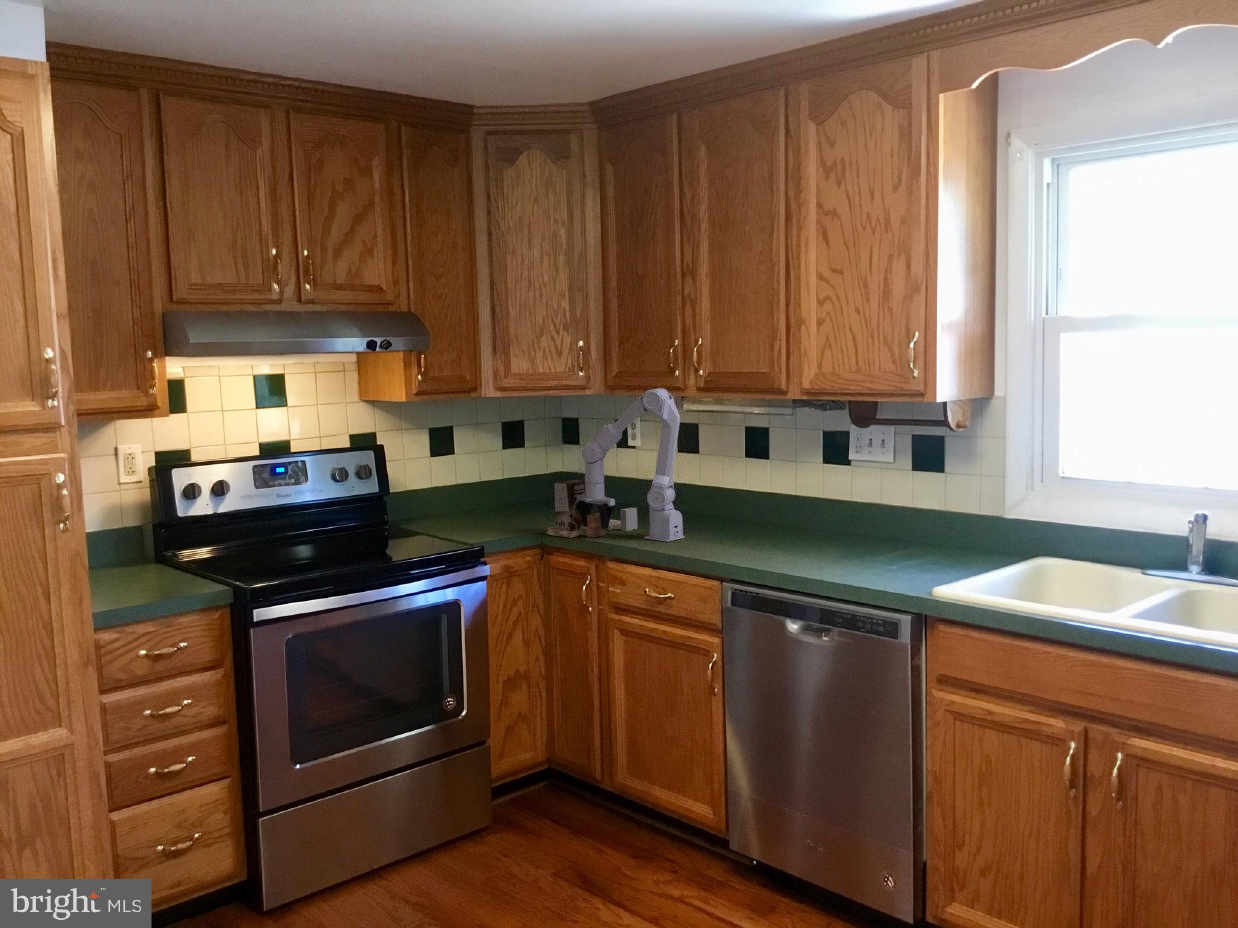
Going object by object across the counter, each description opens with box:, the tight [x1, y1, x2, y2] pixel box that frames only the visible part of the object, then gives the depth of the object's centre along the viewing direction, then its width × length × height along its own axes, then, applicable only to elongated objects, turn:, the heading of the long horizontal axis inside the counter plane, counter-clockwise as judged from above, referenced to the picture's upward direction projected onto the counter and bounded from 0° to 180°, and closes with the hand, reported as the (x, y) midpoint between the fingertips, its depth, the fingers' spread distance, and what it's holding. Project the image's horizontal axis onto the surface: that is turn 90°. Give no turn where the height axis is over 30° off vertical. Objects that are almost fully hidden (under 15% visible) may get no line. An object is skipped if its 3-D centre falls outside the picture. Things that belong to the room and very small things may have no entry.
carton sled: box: [545, 512, 606, 539], centre depth 332 cm, size 16×13×6 cm
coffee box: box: [554, 479, 587, 532], centre depth 334 cm, size 9×6×16 cm
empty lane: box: [606, 507, 639, 532], centre depth 343 cm, size 16×8×6 cm, turn 46°
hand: (595, 527), depth 328 cm, fingers open, 7 cm apart
